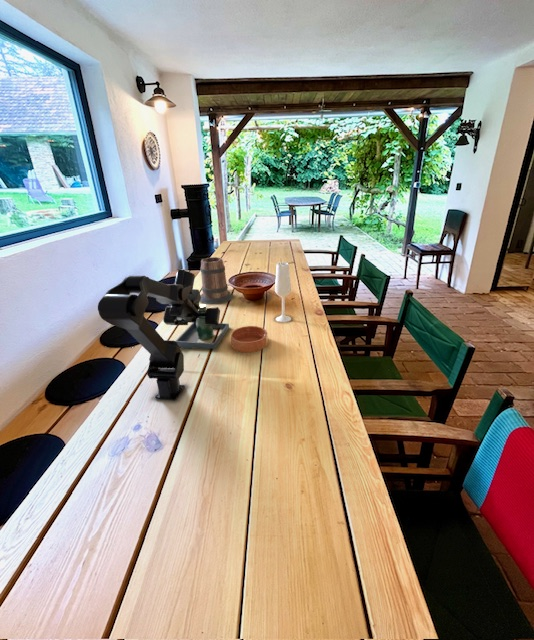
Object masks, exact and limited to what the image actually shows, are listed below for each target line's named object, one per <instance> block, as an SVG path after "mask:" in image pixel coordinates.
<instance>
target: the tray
mask: <svg viewBox="0 0 534 640" xmlns="http://www.w3.org/2000/svg"><path fill="white" fill-rule="evenodd" d="M213 329H222V330H221V332H220V333H219V334H218V336H217V337H216V339H215V340H214V342H200V340H199V339H198V333H197V326H196V323H191V324H190V325H188V327H187V328H186V329H185V330H184V331H183V332H182V333H181V334H180V335H179V336H178V338H176V339H175V341H176V342H177V344H178V346H180V347H181V348H180V349H192V348H194V349H207V350H209V349H210V350H211V349H212V350H215V349H216V348H217V347H218V345H219V343H220V342H221V341H222V339H223V338H224V336H225V335H226V334H227V332H228V331H229V329H230V323H223V322H219V324H218V325H217V326H213Z"/></svg>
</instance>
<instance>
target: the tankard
mask: <svg viewBox="0 0 534 640" xmlns="http://www.w3.org/2000/svg"><path fill="white" fill-rule="evenodd" d="M199 270H200V273H201V274H200V275H201V291H202V293H201V294H200V295H201V299H200V303H201V304H205V305H217V304H218V305H219V304H224V303H227V302H228V301H230V300H232V299H233V295H232V294H231V292H229V287H228V283H227V277H226V276H227V275H226V266H225V264H224V260H223V258H222V257H217V256H214V257H210V256H209V257H207V258H201V260H200V269H199Z"/></svg>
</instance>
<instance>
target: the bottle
mask: <svg viewBox="0 0 534 640" xmlns="http://www.w3.org/2000/svg"><path fill="white" fill-rule="evenodd" d="M199 305H200V309H198V311H206V310H207V304H205V303H201V304H199ZM196 326H197V333H198V339H199V340H198V341H202V342H204V341H205V342H206V341H209V340H212V339H214V337H215V334H214V328H213V326H207V325H206V324H205V318H198V319H197V321H196Z"/></svg>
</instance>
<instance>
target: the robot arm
mask: <svg viewBox="0 0 534 640" xmlns="http://www.w3.org/2000/svg"><path fill="white" fill-rule="evenodd" d="M195 278H196V275H195V273H193V272H191V271H187V270H186V269H182V268H181V269H180V268H179V269H178V270H177V272H176V275H175V280H174V283H173V284H169V283H168V284H167V283H163V282H161V281H158V280H155V279H153V278H150V277H148V276H146V275H128V276H125V277H124V278H123V279H122V281H121V282H120V283H117V284H116V285H115V286H113V287H111V288H110V289H108V290H107V291H106V292H105V294H104V295H103V296H102V297H101V299H100V300H99V301H98V304H97V311H98V315H99V317H100V318H101V320H103V321H104V322H106V323H108V324H110V325H112V326H115V327H118V328H121V329H124V330H125V331H126V332H127V333H129V334H130V335H131V337H132V338H134V339H135V340H136V341H137V343H138V344H140V345H141V347H143V348H144V349H145V350H146V351H147V352H148V354H149V360H148V361H149V363H148V368H147V373H146V375H147V377H148V379H149V380H151V379H155V380H156V386H157V390H158V392H157V393H156V394H155V395H154V398H155V399H159V400H166V401H167V400H168V401H177V399H178V398H179V396H180V395H181V394H182V392H183V391H184V390H185V388H186V386H185V385H183V384H181V382H180V378H181V376H182V375H183V373H184V372H185V355H184V353H183V351H182V348H181V347H180V346H178V344H177V342H176V340H165V339H164V338H163V337H162V336H161V335H160V333H159V332H158V331H157V330H156V328H154V326H153V325H152V323H150V321H149V320H148V319H147V318H146V317H145V312H146V309H147V307H148V305H149V304H150V303H149V298H148V297H151V298H154V299H155V301H156V302H157V303H159V304H161V305H167V306H166V307H165V309H164V312H163V313H164V314H163V317H162V320H163V321H162V322H163V323H164V324H165V325H167V326H169V325H170V326H189V323H191V324H192V323H196V321H197V319H198V318H205V324H206V325H207V326H217V325H218V324H219V323H220V315H221V310H220V308H219V306H206V311H199V309H200V305H201V304H200V303H201V301H200V299H201V295H202V294H201V293H200V292H201V291H200V290H199V289H197V288H196V289H194V284H195ZM137 294H138V295H137Z"/></svg>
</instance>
